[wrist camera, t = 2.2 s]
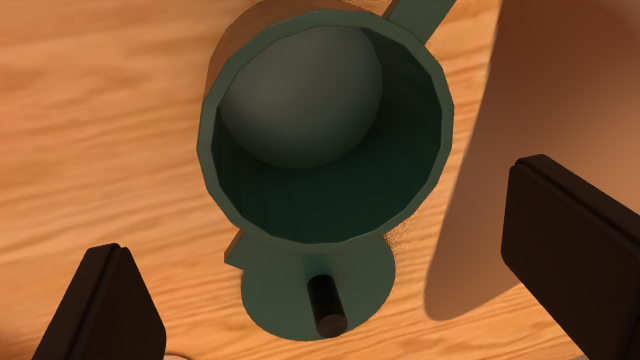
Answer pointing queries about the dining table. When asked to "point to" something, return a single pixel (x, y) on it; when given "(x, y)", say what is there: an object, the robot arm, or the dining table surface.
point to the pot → (323, 124)
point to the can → (174, 357)
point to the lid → (319, 291)
